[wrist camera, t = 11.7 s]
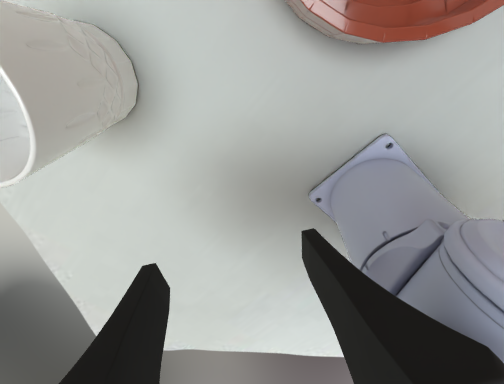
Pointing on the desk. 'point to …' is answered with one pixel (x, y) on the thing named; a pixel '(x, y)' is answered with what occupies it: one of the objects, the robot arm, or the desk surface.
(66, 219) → the desk surface
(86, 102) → the white cup
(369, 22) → the bowl
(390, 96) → the desk surface
